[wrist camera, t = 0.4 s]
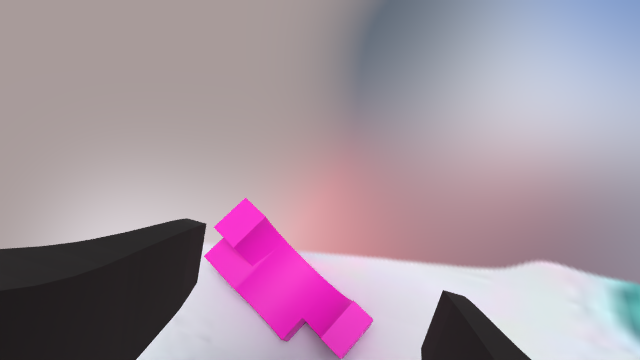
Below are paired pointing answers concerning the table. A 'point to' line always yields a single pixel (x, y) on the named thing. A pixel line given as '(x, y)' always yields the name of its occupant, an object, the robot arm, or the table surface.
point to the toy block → (283, 282)
